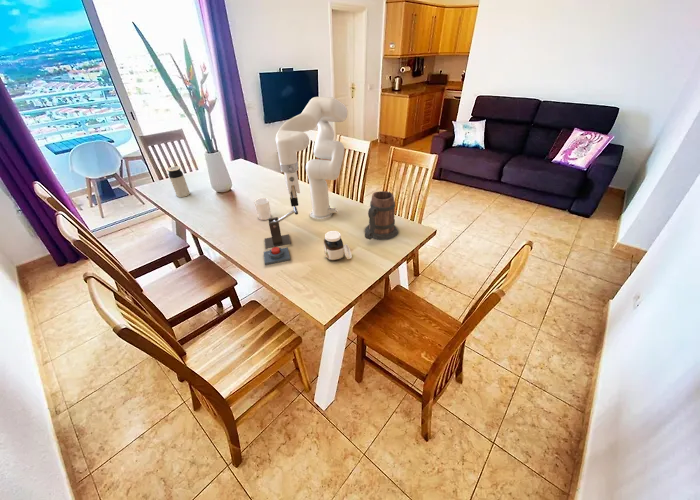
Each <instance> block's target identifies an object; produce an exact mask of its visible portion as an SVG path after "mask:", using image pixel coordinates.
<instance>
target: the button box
mask: <svg viewBox="0 0 700 500" xmlns="http://www.w3.org/2000/svg"><path fill="white" fill-rule="evenodd" d="M279 249H280V253H279V254H272V251H271V249H270V250H265V251H263V257H264V258H263V259H264V266H269V265H275V264H279V263H285V262H289V261H291V257H290V252H289V248H288V247H279Z"/></svg>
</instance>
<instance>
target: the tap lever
mask: <svg viewBox="0 0 700 500" xmlns="http://www.w3.org/2000/svg"><path fill="white" fill-rule="evenodd" d="M292 208H293V210H291V211H290V212H288V213H286V214H285V215H283V216H281V217H280V218H278V220H275V219H274V220H273V221H271V222H276V221H279V223H281V222H282V221H284V220H286V219H287V218H288V217H290V216H292V215H294V214H295V216H296V215H299V211H298V208H297V206H293V207H292Z"/></svg>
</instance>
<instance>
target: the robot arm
mask: <svg viewBox="0 0 700 500" xmlns="http://www.w3.org/2000/svg"><path fill="white" fill-rule="evenodd" d="M347 118H348V109H347V106H346V104H344V103H343V102H342V101H340V100H339V99H337V98H335V97H332V96H314V97H312V98H311V99H309V101H308V103H307V104H306V105H305V107H304V109H303V110H302V112H301V113H299V114H297V115H295V116H293V117H291V118H289V119H287V120H286V121H284V123H282V124H281V126H280V127H279V129H278V131H277V132H276V134H275V143H276V149H277V150H276V151H277V156H278V162H279V163H278V164H279V169H280V172H281V173H283V174H284V175H283V176H284V180H285V185H286V188H287V189H286V190H287V192H288V194H289V200H290V206H291V207H292V208H293V207H294V206H296V207H298V206H299V199H298V194H300V193H301V191H300V190H301V189H300V183H299V178H298V171H299V163H298V162H299V161H298V156H297V155H298V154H297V152H301V151H304V150H306V149H307V148H308V146H309V145H310V137H309V135H308V134H307V133H306V132H309V131H313V130H315V128H316V127H317V135H316V138H315V142H314V147H313V156H314V157H315V158H312V159H309V160H308V161H307V162H306V164H305V172H306V175H307V178H308V184H309V192H310V200H311V210H312V211H310V213H309V217H311V218H312V219H315V220H325V219H328V218H331V217H332V215H333V214H337V213H338V209H337V208H336V207H331V205H330V197H329V187H328V186H329V185H328V181H327V180H329V181H336V180H337V179H339V176H340V174H341V169H342V165H343V162H344V156H345V145H344V143H342V141H340V140H334V137H335V131H334V129H333V127H332V126H331V124H330V123H329V122H331V123H343V122H345V121H346V120H347Z"/></svg>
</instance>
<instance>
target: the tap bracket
mask: <svg viewBox="0 0 700 500" xmlns="http://www.w3.org/2000/svg"><path fill="white" fill-rule="evenodd" d="M274 219H275V220H278V219H279V217H277V216H276V217H270V218H269V219H267V220H268V227H269V231H270V235H271V236H270V237H265V238H264V246H265V249H272V248H274V247H282V246H288V245H292V243H291V242H292V241H291V237H290V234H284V235H283V234H282V232H281V228H280V222H279V221H276V222H271V221H273V220H274Z"/></svg>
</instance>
